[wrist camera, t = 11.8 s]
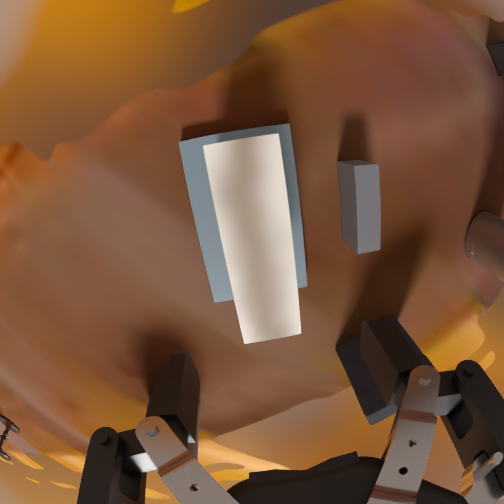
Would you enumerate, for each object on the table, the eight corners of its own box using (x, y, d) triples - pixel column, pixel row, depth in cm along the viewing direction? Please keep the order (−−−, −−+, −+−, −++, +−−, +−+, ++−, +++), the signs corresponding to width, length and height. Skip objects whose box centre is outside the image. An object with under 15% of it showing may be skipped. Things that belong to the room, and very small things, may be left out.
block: (359, 159, 31) (378, 163, 27) (362, 235, 35) (380, 249, 30) (337, 161, 31) (354, 165, 27) (342, 239, 35) (357, 254, 30)
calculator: (340, 359, 44) (371, 428, 30) (333, 344, 42) (365, 417, 28) (396, 327, 42) (439, 388, 28) (391, 311, 41) (439, 373, 27)
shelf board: (272, 134, 22) (278, 133, 19) (294, 315, 29) (301, 333, 26) (206, 145, 22) (202, 145, 19) (243, 325, 29) (244, 343, 26)
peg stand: (286, 124, 29) (306, 119, 21) (304, 280, 37) (322, 317, 29) (180, 141, 29) (163, 142, 21) (215, 296, 37) (212, 337, 29)
